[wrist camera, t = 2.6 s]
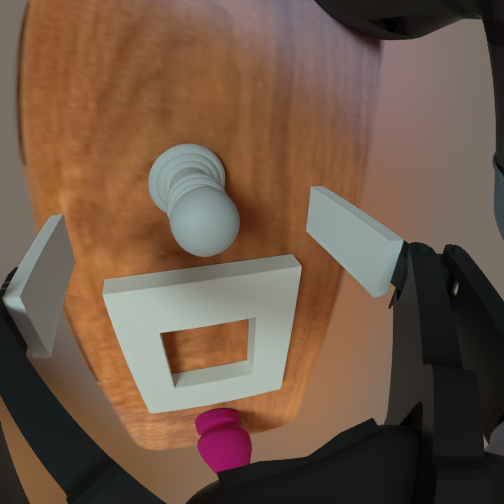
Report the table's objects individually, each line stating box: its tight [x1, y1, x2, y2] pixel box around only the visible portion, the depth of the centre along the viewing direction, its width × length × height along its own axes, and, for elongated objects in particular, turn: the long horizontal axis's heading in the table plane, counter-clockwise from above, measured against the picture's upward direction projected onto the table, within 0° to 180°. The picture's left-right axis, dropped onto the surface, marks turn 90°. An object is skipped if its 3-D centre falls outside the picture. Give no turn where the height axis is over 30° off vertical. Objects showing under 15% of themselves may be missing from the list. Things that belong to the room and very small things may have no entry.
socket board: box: [102, 254, 302, 413], centre depth 28 cm, size 18×16×2 cm
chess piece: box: [148, 144, 240, 257], centre depth 16 cm, size 5×5×9 cm
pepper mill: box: [195, 408, 252, 476], centre depth 29 cm, size 7×7×20 cm
